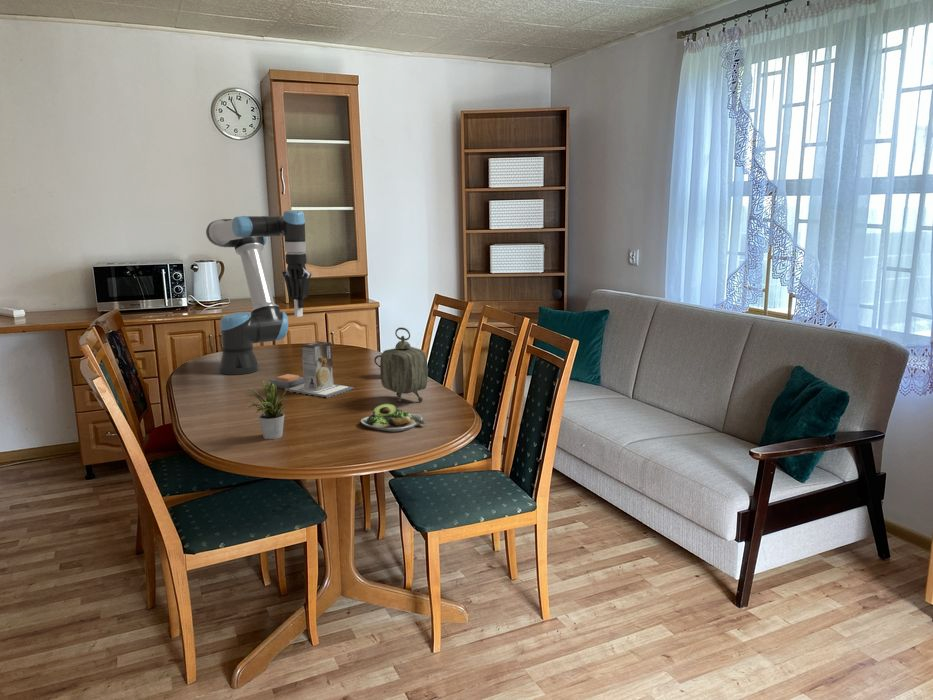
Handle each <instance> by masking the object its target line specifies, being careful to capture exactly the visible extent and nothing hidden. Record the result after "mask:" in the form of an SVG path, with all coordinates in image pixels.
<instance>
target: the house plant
mask: <svg viewBox="0 0 933 700" xmlns="http://www.w3.org/2000/svg"><path fill="white" fill-rule="evenodd" d="M262 382H263V383H262V384H263V386H264V387H263V388H264V396H265V399H264V397H262V396H261V395H260V394H259V392H258V391H257V390H255V389H254V388H251V387H249V386H247V388H249V389H250V390H252V391H253V392H254V393H253V392H251V394H253V395H250V396H254V397H255V398H257V400H259V401H260V402H256V403H254V402H253V401H245V402H246V403H247V402H248V403H251V405H249V406H248V408H247V409H249V408H252V407H255V408H257V410H256V413H258V412H261V414H259V415H258V419H259V420H258V421H259V424H260V428H261V433H262V437H263V439H265V440H277V439H280V438H282V437H283V432H284V424H285V423H284V421H285V413H284V412H282V411H283V410H284V409H286V408H287V406H284V403H282V402H284V401H285V400H291V398H283V396H284V395H285V394H286V393H288V392H287V391H286V390H287V389H286V390H284V392H283V393H282V394H281V395H280V397H279V398H278V399H277V397H278V396H277V395H278V388H277V386H276V385H275V387H274V384H273V383H274V382H272V386H271V382H270V381H269V383H268V384H267V382H266V381H265V380H262ZM290 390H291V389H290ZM246 394H248V395H249V392H248V393H246ZM282 398H283V399H282ZM262 405H263V406H262ZM283 406H284V407H283ZM288 408H289V409H290V406H288Z"/></svg>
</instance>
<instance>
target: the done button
mask: <svg viewBox="0 0 933 700" xmlns="http://www.w3.org/2000/svg"><path fill="white" fill-rule="evenodd" d="M299 377H300V375H297V374H289V373H286V374H283V375H280V376H279V375H278V376H276V378H277V380H282V381H292V380H295V379H299Z"/></svg>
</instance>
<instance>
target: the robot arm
mask: <svg viewBox="0 0 933 700" xmlns="http://www.w3.org/2000/svg"><path fill="white" fill-rule="evenodd" d="M205 234H206V235H205V236H206V238H207V240H208V241H209V243H211V244H213V245H214V246H217V247H219V248H220V247H221V248H234V250H235V251H234V252H235V254H237V255H239V256H240V259H241V263H242V268H243V270H244V276H245V281H246V283H247V287H248V291H249V296H250V299H251V303H252V307H253V308H252V309H251V311H237V312H232V313H229V314H228V313H227V314H226V315H223V316H222V317H221V318H220V326H219V327H220V335H221V347H222V348H221V349H222V354H221V358H220V363H219V367H218V368H219V369H218V371H219V373H220V374H222V375H227V376H228V375H229V376H230V375H235V376H236V375H245V374H252V373H255V372H257V371H259V370H260V369H259V363H258V360H257V357H256V355H255V353H254V348H253V346H254V345H253V344H261V343H267V342H275V341H281V340H283V339H285V338H286V336H287V334H288V332H289V318H288V317H289V316H288V315H287V313H286V312H285V311H281V309H280V305H278V304H276V303H275V302H274V301H275V300H274V298H273V297H274V296H273V293H272V289H271V285H270V281H269V278H268V274H267V273H268V272H267V269H266V266H265V261H264V258H263V257H264V256H263V254H262V251H263V250H264V246H265V245H266V243H267V237H284V253H286V254H285V264H286V265H287V266H286V270H285V271H282V275H283V278H284V282H285V287H286V290H287V296H288V297H289V298H291V299H292V304H293V305H292V306H293V308H294V317H296V318H300V317H303V316H304V312H303V310H304V309H303V308H304V300H305V298H308V292H309V285H310V279H311V276H312V272H308V271H307V268H306V264H307V254H306V252H307V248H306V247H307V245H306V243H307V242H306V220H305V212H304V211H302V210H285V211H283V215H266V216H265V215H263V216H262V215H260V216H259V215H257V216H256V215H253V216H251V215H250V216H249V215H248V216H245V215H241V216H235V217H234V218H220V219H217V220H213V221H211V222H210V223H209V224H208V225H207V227H206V230H205Z"/></svg>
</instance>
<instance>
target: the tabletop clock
mask: <svg viewBox="0 0 933 700" xmlns="http://www.w3.org/2000/svg"><path fill="white" fill-rule="evenodd" d="M399 330H400V331H401V330H404V331H406V332H407V334H408V337H407V338H406V337H405V336H404V335H402V336H401V337H400V336H399V335H398V334H397V333H398V331H399ZM394 333H395V337H396V338H397V339H398V340H400V341H398V342H397V343H396V345H395V347H394V348H390V349H385V350H383V351H384V352H382V353H381V354H380V355H381V357H380V362H379V363H380V364H379V365H380V367H379V369H380V380H381V381H380V382H381V385H382V387H383V388H384V389H386V390H389V391H392V392H394V393H396V396H397V399H396V402H398V403H402V400H403V398H402V394H404V395H405V394H406V395H407V394H411V393H413V394H415V396H416V397H417V399H418V402H420V403H421V402H423V400H424V398H423V397H422V396H420V394H419V393H418V391H422V390H425V389H426V388H427V385H428V375H429V374H428V373H429V368H428V358H427V354H426V352H425V351H424V350H422V349H420V348H417V347H413V346H411V344H410V343H409V341H408V340H409V339H410V338H411V332H410V331H409V329H408V328H406V327H398V328H396V329H395V332H394Z"/></svg>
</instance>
